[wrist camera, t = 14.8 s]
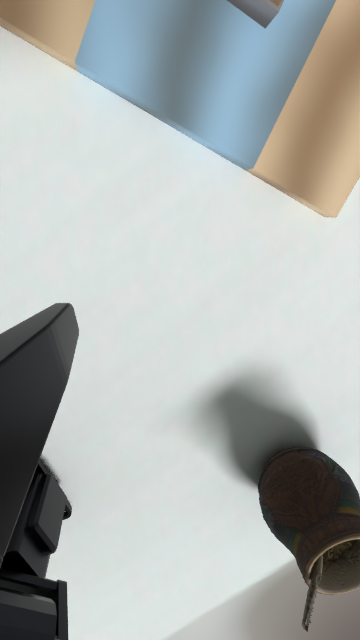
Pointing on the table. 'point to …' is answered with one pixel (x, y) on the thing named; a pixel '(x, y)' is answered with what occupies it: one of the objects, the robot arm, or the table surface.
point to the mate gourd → (314, 519)
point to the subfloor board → (225, 78)
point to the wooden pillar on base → (259, 9)
